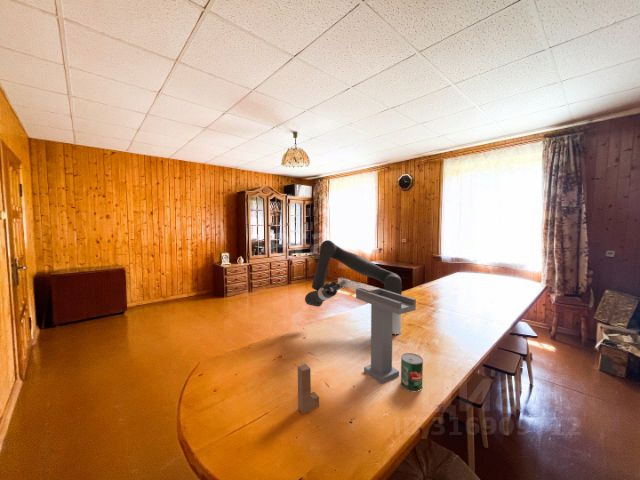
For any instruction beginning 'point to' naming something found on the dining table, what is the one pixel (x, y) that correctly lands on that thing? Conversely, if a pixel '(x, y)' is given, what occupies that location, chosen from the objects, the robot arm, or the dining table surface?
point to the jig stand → (383, 330)
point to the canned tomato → (411, 371)
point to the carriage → (358, 286)
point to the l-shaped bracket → (306, 390)
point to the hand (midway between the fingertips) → (342, 281)
